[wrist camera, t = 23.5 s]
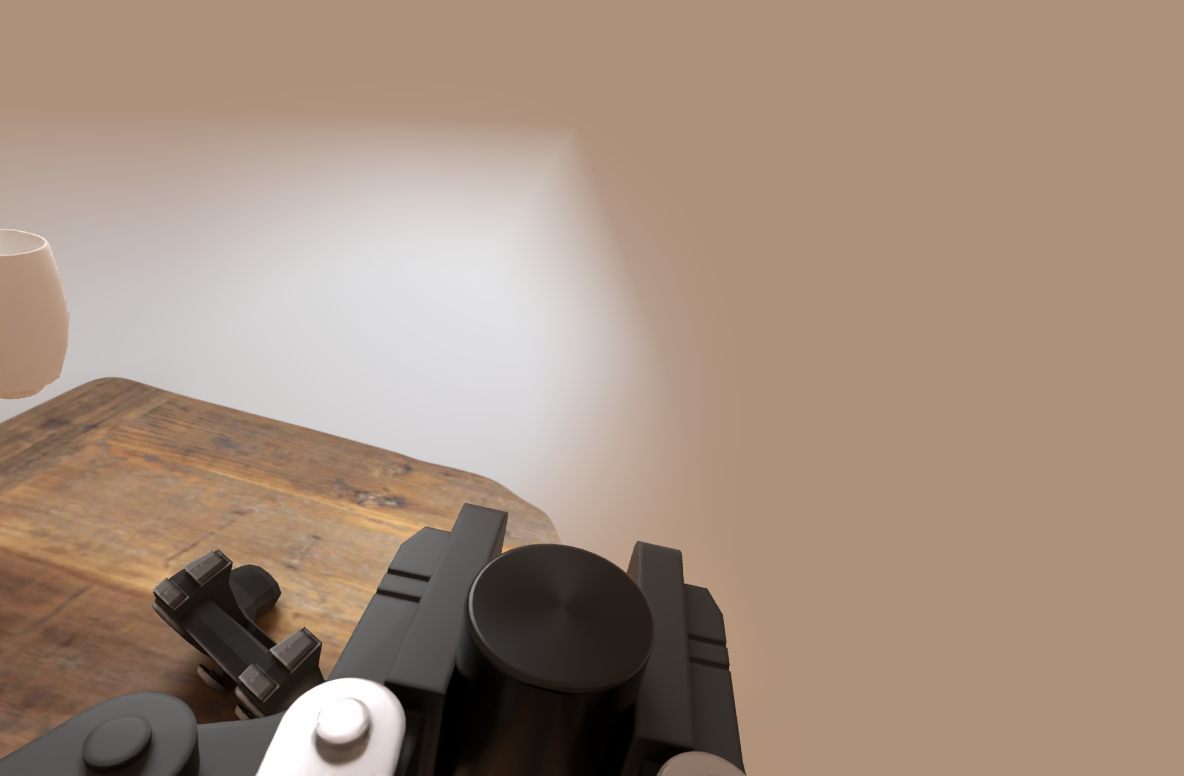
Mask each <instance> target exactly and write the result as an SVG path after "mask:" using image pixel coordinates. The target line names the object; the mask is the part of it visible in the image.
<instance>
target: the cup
mask: <svg viewBox="0 0 1184 776" xmlns="http://www.w3.org/2000/svg"><path fill="white" fill-rule="evenodd" d="M68 327H69V313H68V308H67V303H66V298H65V293H64V288H63V283H62V279H61V276H60V273H59V270H58V267H57V264H56V262H55V259H54V256H53V253H52V251H51V248H50V245H49V243H48V242H47V241H46V240H45V239H44V238H43V237H41V236H38V235H35V234H32V233H29V232H23V231H17V230H11V229H0V398H4V399H19V398H25V397H29V396H32V395H35V394H37V393H38V392H40V391H41V390H42V389H43V387H45V385H48V384H50V383H52V382H53V381H55V380H56V379H57V378H59V376H60V373H61V369H62V365H63V362H64V358H65V354H66V350H67V345H68Z"/></svg>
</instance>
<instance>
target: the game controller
mask: <svg viewBox="0 0 1184 776" xmlns="http://www.w3.org/2000/svg"><path fill="white" fill-rule="evenodd" d="M232 564H233V562H232V561H231V560H230V559H228V558H227V557H226V556H225V555H224V554H223V553H222V552H221V551H220V550H217V551H215V552H213V551H210V552H208V553H206V554H205V555H203V556H201V557H199V558H197V559H196V560H194V561H192V562H190V563H189V564H187V565H185V566H183V567H184V568H185V569H183V570H181V571H180V572H178V573H177V574H175V575H174V576H172V577H171V578H169V579H168V578H166V579H164V580H163V581H162V582H161V583H160V584H158V585H157V586H156V587H155V588H154V589H153V590H154V592H153V593H154V595H155V597H156V599H155V601H154V603H153V604H152V607H153V608H154V610H155V611H156V612H157V613H158V614H159V616H160V617H161V618H162V619H163V620H164V621H165V622H166V623H167V624H168V625H169V626H171V627H172V628H173V629H174V630H175V631H176V632H177V633H178V634H179V635H181V636H182V637H183V638H184V639H185V640H186V641H188V642H189V643H190V644H191V645H193V646H194V647H195V648H196V649H198V650H199V651H201V652H202V653H203V654H205V655H207V656H209V657H210V658H211V659H212V660H213V661H214V662H215V663H216V664H217V665H216V666H215V667H214V668H213V669H212V670H211V671H210V670H209V669H208V668H206V667H205V666H204V665H202V664H199V666H198V669H197V672H198V674H199V675H200V677H201V678H202V679H203V681H204V682H205V683H206V684H207V685H209V686H210V687H212V688H214V689H216V690H218V691H220V692H221V691H223V690H226V689H227V686H226V685H225V684H224V683H223V682H222V681H221V680H220V679H219V678H220V677H221V676H222V675H223V674H224V673H225V672H226V673H227V674H229V675H230V676H231V677H232V679H233V680H234V681H235V682H236V683H237V684H238V685H237V687H236V689H235V691H234V692H235V694H236V695H237V697H238V698H239V699H240V701H241V702H242V703H243V704H244V705H245V706H246V707H247V708H248V709H249V710H250V711H248V710H247V709H246V708H244V707H243V706H242V705H240V704H237V707H236V709H235V713H236V715H237V716H238V717H239V719H240V720H251V719H257V718H264V717H268V716H271V715H275V714H278V713H281V712H283V711H286V710H288V709H289V708H290V706H291V705H292V704H293V703H294V702H295V701H296V700H297V699H298V698H299V697H301V696H302V695H303V694H305V693H306V692H308V691H309V690H311V689H313V688H315V687H317V686H318V685H321V684H323V683H324V682H325V681H326V680H324V678H323V676H322V673H321V671H320V668H319V666H318V665H319V659H320V653H321V647H322V642H321V641H320V640H318V639H317V638H316V637H315V636H314V635H313V634H312V633H311V632H310V631H308V630H307V629H306V628H305V627H304V628H303V629H301V630H297V631H296V632H294V633H293V634H292V635H290V636H289V637H287V638H286V639H284V640H283V641H281V642H280V643H278V644H277V643H276V642H275V641H274V640H273V639H271V638H270V637H269V636H268V635H267V634H266V633H265V632H264V631H263V630H262V629H261V628H259V627H258V626H257V625H256V624H255V623H254V620H256V619H257V618H258V617H260V616H261V615H262V614H263V613H265V612H266V611H267V610H269V609H270V608H271V607H272V606H274V605H275V603H276V602H277V600H278V598H279V597H280V595H281V591H280V588H279V585H278V583H277V582H276V581H275V580H274V578H273V577H272V576H271V575H270V574H269V573H268V572H266V571H265V570H264V569H262V568H261V567H259V566H255V565H250V564H249V565H245V566H241V567H239V568H236V569H233V570H231V569H232Z"/></svg>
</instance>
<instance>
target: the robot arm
mask: <svg viewBox="0 0 1184 776" xmlns="http://www.w3.org/2000/svg"><path fill="white" fill-rule="evenodd" d="M507 519H508V512H505V511H500V510H495V509H491V508H486V507H482V506H477V505H473V504H468V503H465V504H464V505H463V507H462V509H461V511H460V513H459V516H458V518H457V520H456V522H455V525H454V527H453V529H452V531H451V532H448V531H443V530H439V529H434V528H429V527H424V528H423V529H421V530H420V531H419V532H417V533H416V534H415V535H413V536H412V537H411V538H409V539H408V540H407V541H405V542H404V543H403V544H401V546H400V548H399V550H398V552H397V553H396V555H395V557H394V559H393V561H392V563H391V564H390V566H389V568H388V572H387V573H386V574H385V575H384V577H383V579H382V581H381V583H380V585H379V586H378V588H377V592H376V594H374V595H373V597H372V599H371V601H370V603H369V605H368V606H367V608H366V610H365V612H364V614H363V616H362V617H361V619H360V621H359V623H358V625H357V627H356V628H355V630H354V632H353V634H352V636H351V638H350V639H349V641H348V643H347V645H346V647H345V649H344V650H343V652H342V654H341V656H340V658H339V660H338V661H337V663H336V665H335V667H334V669H333V671H332V672H331V674H330V675H329V677H328V678H327V680H326V681H325V682H324V683H323V684H321V685H318V686H317V687H315V688H313V689H311V690H309V691H308V692H306V693H305V694H303V695H302V696H301V697H299V698H298V699H297V700H296V701H295V702H294V703H293V704H292V705H291V706H290V708H289V709H288V710H286V711H283V712H281V713H278V714H275V715H271V716H268V717H264V718H257V719H251V720H240V721H229V722H219V723H208V724H197V722H196V718H195V716H194V713H193V712H192V710H191V709H190V707H189V706H188V705H187V704H186V703H184V702H183V701H182V700H180V699H178V698H176V697H174V696H172V695H168V694H164V693H158V692H137V693H131V694H125V695H122V696H118V697H115V698H111V699H109V700H106V701H104V702H101V703H99V704H97V705H95V706H93V707H91V708H89V709H87V710H85V711H83V712H82V713H80V714H78V715H76V716H75V717H73V718H71V719H70V720H68V721H66V722H64V723H63V724H61V725H59V726H57V727H56V728H54V729H52V730H51V731H49V732H47V733H45V734H44V735H42V736H40V737H38V738H37V739H35V740H33V741H32V742H30V743H28V744H26V745H25V746H23V747H21V748H19V749H18V750H16V751H14V752H12V753H11V754H9V755H7V756H6V757H4V758H2V759H0V776H438V772H439V766H440V760H441V753H442V747H443V741H444V734H445V728H446V722H447V715H448V709H449V703H450V696H451V690H452V684H453V677H454V671H455V665H456V653H457V646H458V640H459V634H460V627H461V621H462V614H463V608H464V602H465V597H466V594H467V590H468V588H469V586H470V584H471V582H472V580H473V579H474V577H475V576H476V574H477V573H478V572H479V571H480V570H481V569H482V568H483V567H484V566H485V565H486V564H487V563H488V562H489V561H491V560H492V559H493V558H495V557H497V556H498V555H500V554H501V552H502V547H503V541H504V536H505V530H506V525H507ZM627 574H628V575H629V576H630V577H631V578H632V579H633V580H634V581H635V582H636V583H637V585H638V586H639V587H640V588H641V590H642V591H643V593H644V594H645V596H646V598H647V600H648V602H649V604H650V607H651V609H652V613H653V617H654V622H655V642H654V646H653V649H652V653H651V656H650V658H649V661H648V664H647V667H646V670H645V673H644V676H643V679H642V682H641V685H640V688H639V691H638V694H637V697H636V700H635V703H634V706H633V708H632V711H631V714H630V717H629V720H628V723H627V726H626V729H625V732H624V735H623V738H622V741H621V744H620V747H619V750H618V753H617V756H616V759H615V761H614V764H613V767H612V770H611V773H610V776H746V773H745V770H744V765H743V760H742V752H741V745H740V738H739V731H738V723H737V716H736V709H735V701H734V694H733V686H732V679H731V672H730V671H729V666H730V664H729V657H728V650H727V648H726V635H725V628H724V620H723V614H722V613H721V611H720V609H719V608H718V606H717V604H716V603H715V601H714V599H713V598H712V596H711V594H710V593H709V591H708V589H707V588H702V587H698V586H693V585H688V584H684V579H683V563H682V553H681V551H680V550H676V549H672V548H668V547H663V546H658V545H654V544H649V543H645V542H640V541H637V543H636V544H635V547H634V550H633V553H632V556H631V560H630V563H629V567H628V570H627Z"/></svg>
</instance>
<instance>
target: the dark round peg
mask: <svg viewBox="0 0 1184 776" xmlns="http://www.w3.org/2000/svg"><path fill="white" fill-rule="evenodd" d="M654 642H655V622H654V617H653V613H652V609H651V607H650V604H649V602H648V600H647V598H646V596H645V594H644V593H643V591H642V590H641V588H640V587H639V586H638V585H637V583H636V582H635V581H634V580H633V579H632V578H631V577H630V576H629V575H628V574H627V573H626V572H624V571H623V570H622V569H621V568H619V567H618V566H616V565H615V564H613V563H612V562H610V561H608V560H607V559H605V558H603V557H601V556H599V555H597V554H594V553H592V552H589V551H586V550H583V549H579V548H576V547H572V546H566V545H558V544H534V545H527V546H522V547H518V548H515V549H511V550H509V551H507V552H504V553H502V554H500V555H498V556H497V557H495V558H493V559H492V560H491V561H489V562H488V563H487V564H486V565H485V566H484V567H483V568H482V569H481V570H480V571H479V572H478V573H477V574H476V576H475V577H474V579H473V580H472V582H471V584H470V586H469V588H468V590H467V594H466V597H465V602H464V608H463V614H462V621H461V627H460V634H459V640H458V646H457V653H456V665H455V671H454V677H453V684H452V690H451V696H450V703H449V709H448V715H447V722H446V728H445V734H444V741H443V747H442V753H441V760H440V766H439V772H438V776H610V773H611V770H612V767H613V764H614V761H615V759H616V756H617V753H618V750H619V747H620V744H621V741H622V738H623V735H624V732H625V729H626V726H627V723H628V720H629V717H630V714H631V711H632V708H633V706H634V703H635V700H636V697H637V694H638V691H639V688H640V685H641V682H642V679H643V676H644V673H645V670H646V667H647V664H648V661H649V658H650V656H651V653H652V649H653V646H654Z"/></svg>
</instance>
